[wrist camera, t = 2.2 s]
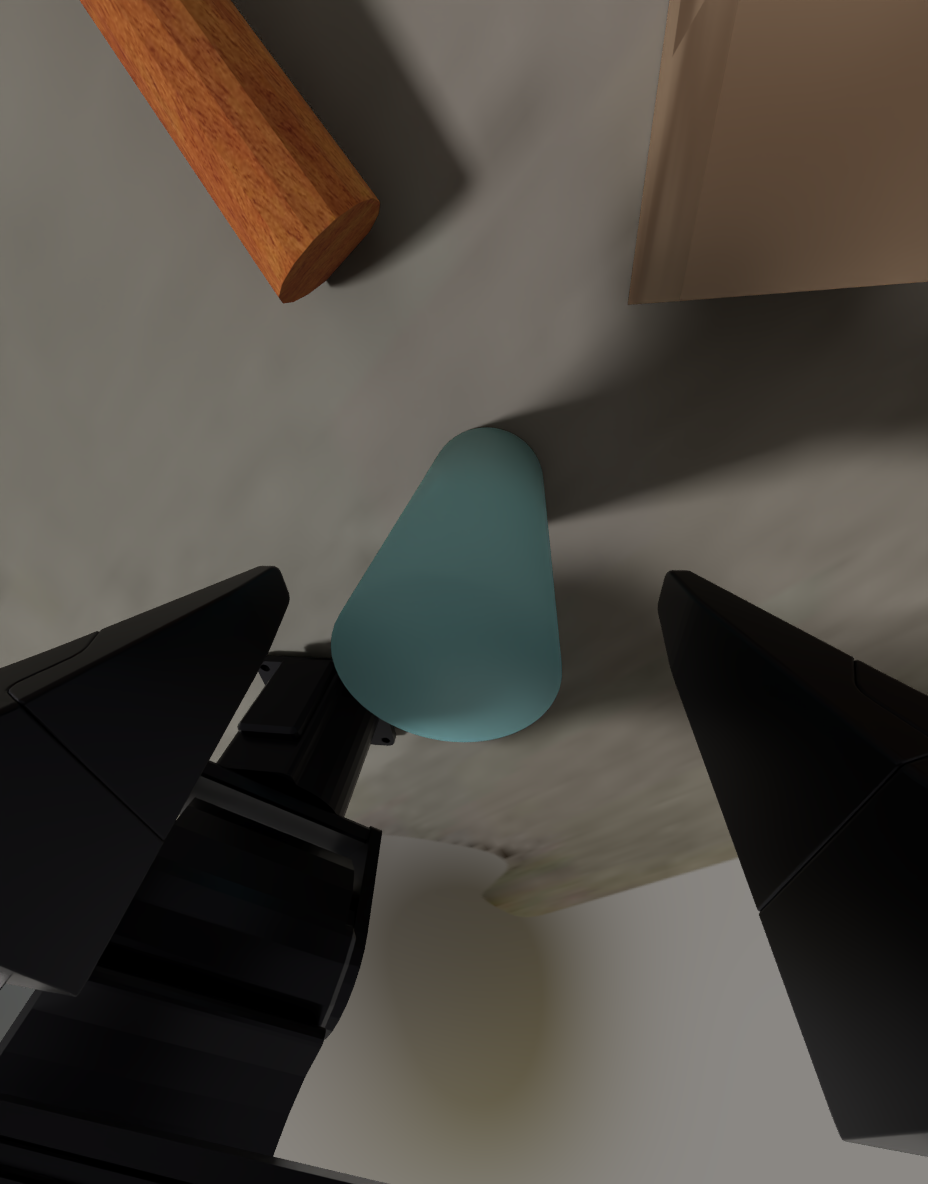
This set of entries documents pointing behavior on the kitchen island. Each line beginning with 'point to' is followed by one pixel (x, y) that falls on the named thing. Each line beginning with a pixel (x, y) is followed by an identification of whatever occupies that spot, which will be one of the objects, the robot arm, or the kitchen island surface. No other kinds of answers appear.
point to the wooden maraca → (244, 135)
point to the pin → (459, 601)
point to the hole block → (786, 150)
